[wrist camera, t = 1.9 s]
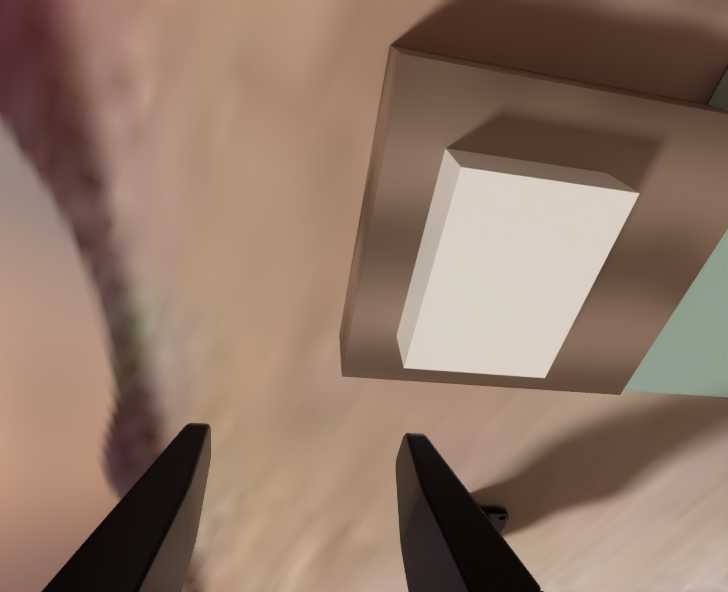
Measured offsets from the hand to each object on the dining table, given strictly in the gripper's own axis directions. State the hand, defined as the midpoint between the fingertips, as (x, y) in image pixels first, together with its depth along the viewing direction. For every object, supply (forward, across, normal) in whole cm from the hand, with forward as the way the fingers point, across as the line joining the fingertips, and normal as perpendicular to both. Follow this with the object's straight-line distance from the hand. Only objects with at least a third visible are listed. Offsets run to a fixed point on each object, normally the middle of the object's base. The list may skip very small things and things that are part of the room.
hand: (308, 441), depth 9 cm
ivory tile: (+9, -7, 0) cm, 11 cm away
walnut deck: (+12, -9, 0) cm, 15 cm away
